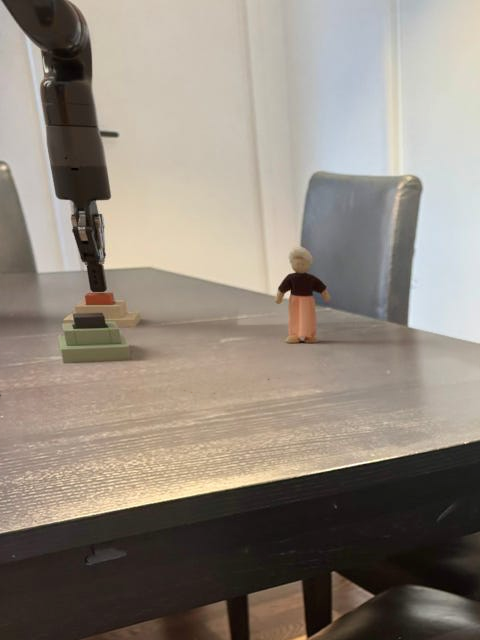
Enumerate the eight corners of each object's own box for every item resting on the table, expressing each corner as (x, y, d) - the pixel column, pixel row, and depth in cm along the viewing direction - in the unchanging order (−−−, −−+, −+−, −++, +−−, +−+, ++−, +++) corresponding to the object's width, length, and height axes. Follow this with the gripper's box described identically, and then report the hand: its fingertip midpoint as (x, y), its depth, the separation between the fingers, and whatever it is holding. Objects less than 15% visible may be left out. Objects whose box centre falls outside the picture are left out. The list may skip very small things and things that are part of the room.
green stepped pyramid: (59, 348, 122) (55, 320, 120) (123, 345, 125) (119, 318, 123) (63, 363, 113) (58, 333, 111) (131, 359, 116) (127, 331, 114)
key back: (86, 307, 137) (84, 295, 136) (90, 304, 140) (88, 292, 140) (111, 307, 138) (109, 295, 137) (114, 304, 141) (113, 292, 140)
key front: (74, 327, 118) (72, 313, 117) (104, 326, 119) (102, 312, 119) (76, 332, 115) (74, 317, 114) (106, 330, 116) (104, 316, 116)
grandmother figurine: (282, 344, 128) (275, 247, 122) (276, 340, 131) (269, 244, 125) (335, 342, 131) (331, 246, 125) (328, 338, 134) (323, 244, 128)
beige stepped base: (64, 328, 136) (60, 306, 135) (73, 320, 143) (70, 299, 141) (134, 327, 138) (131, 306, 136) (140, 319, 145) (137, 299, 143)
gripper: (59, 162, 135) (80, 286, 143) (40, 162, 124) (64, 297, 132) (112, 163, 137) (130, 286, 145) (99, 163, 125) (119, 297, 133)
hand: (99, 291), depth 138 cm, fingers closed
